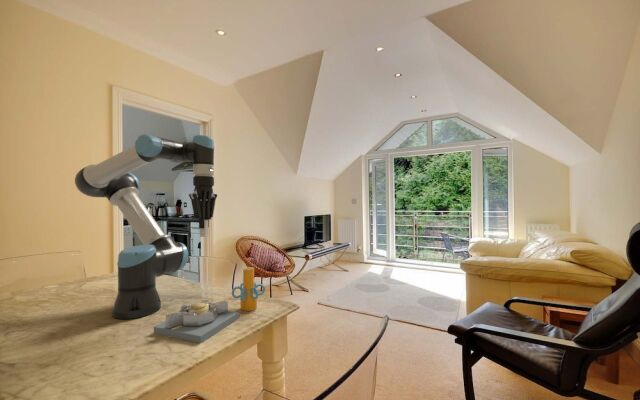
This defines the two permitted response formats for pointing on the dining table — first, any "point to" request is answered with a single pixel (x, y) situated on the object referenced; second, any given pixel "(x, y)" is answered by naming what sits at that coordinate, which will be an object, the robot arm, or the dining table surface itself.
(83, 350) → the dining table surface
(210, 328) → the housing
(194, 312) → the grey curved saddle piece
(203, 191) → the robot arm
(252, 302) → the orange post with rings
